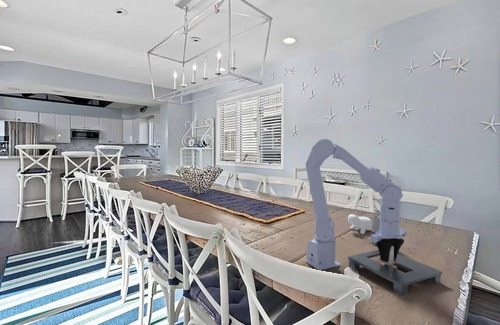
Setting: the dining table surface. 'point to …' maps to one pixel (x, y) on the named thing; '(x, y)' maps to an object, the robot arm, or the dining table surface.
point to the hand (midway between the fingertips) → (388, 260)
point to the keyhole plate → (395, 275)
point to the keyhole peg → (390, 258)
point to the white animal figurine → (360, 223)
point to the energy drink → (375, 225)
